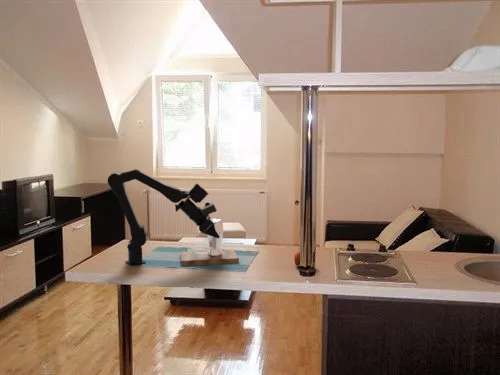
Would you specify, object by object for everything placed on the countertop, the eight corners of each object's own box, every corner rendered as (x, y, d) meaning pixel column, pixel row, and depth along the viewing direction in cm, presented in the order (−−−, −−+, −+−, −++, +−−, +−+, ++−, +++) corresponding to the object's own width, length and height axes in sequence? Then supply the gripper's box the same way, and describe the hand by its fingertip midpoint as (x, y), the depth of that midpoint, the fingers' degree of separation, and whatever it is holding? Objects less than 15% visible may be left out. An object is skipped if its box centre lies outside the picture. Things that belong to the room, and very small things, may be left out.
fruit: (290, 266, 192) (293, 247, 195) (294, 271, 198) (297, 253, 201) (309, 268, 189) (312, 249, 192) (313, 273, 195) (316, 255, 198)
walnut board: (181, 265, 197) (181, 260, 197) (180, 256, 212) (180, 251, 212) (238, 262, 202) (238, 258, 201) (233, 253, 216) (233, 249, 216)
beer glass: (224, 256, 205) (224, 221, 203) (208, 256, 203) (208, 222, 201) (221, 252, 211) (221, 218, 210) (206, 252, 210) (206, 219, 208)
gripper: (207, 200, 194) (234, 226, 198) (203, 194, 213) (228, 218, 216) (188, 220, 194) (215, 245, 197) (185, 212, 212) (210, 235, 215)
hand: (217, 235), depth 206 cm, fingers open, 9 cm apart
